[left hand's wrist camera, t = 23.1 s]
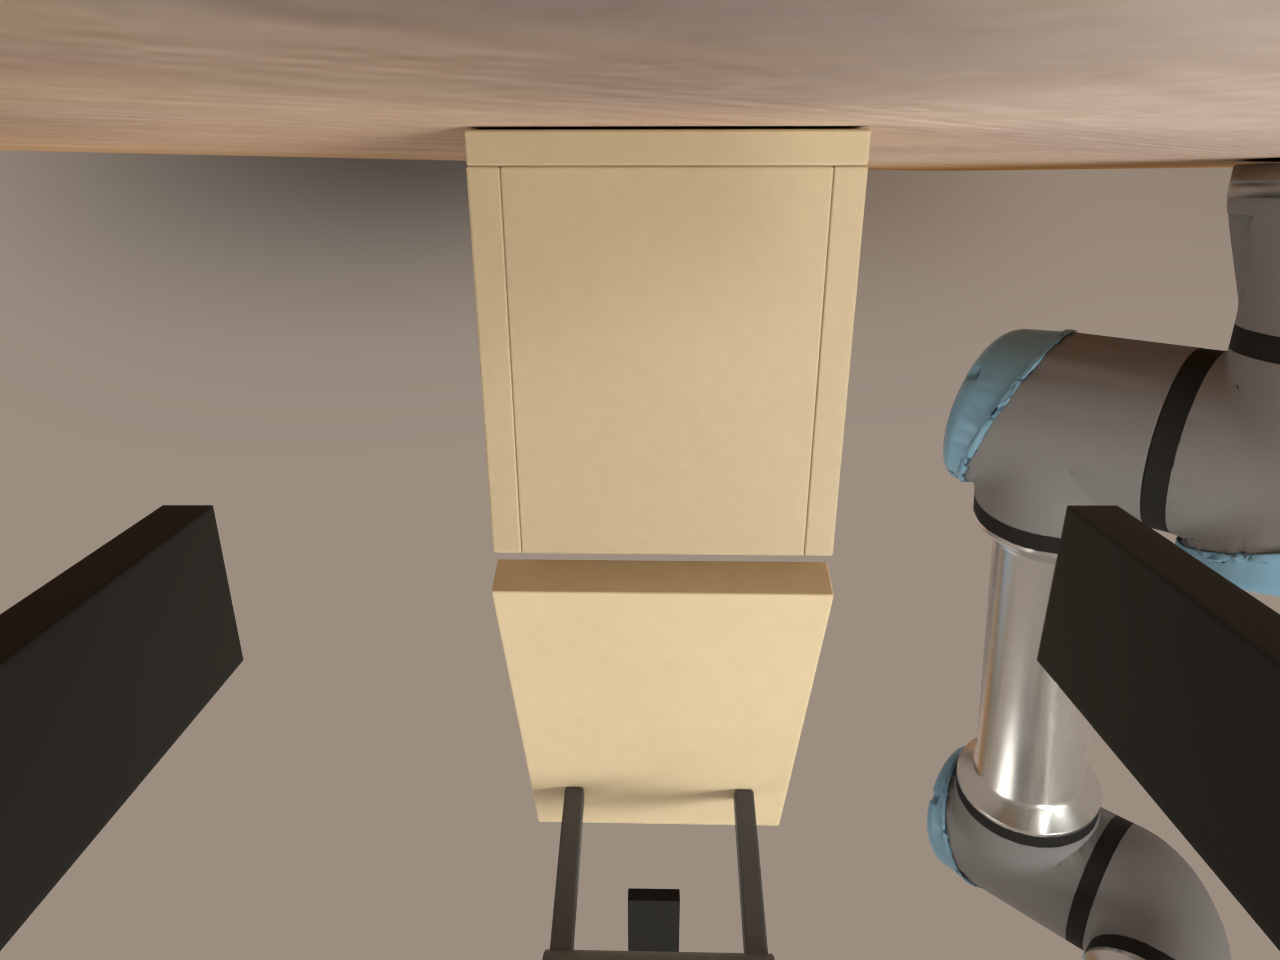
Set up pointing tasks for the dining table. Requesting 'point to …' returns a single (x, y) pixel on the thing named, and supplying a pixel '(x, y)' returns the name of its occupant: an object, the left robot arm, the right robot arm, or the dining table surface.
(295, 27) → the dining table surface
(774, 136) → the chest
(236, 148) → the dining table surface
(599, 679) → the lid
